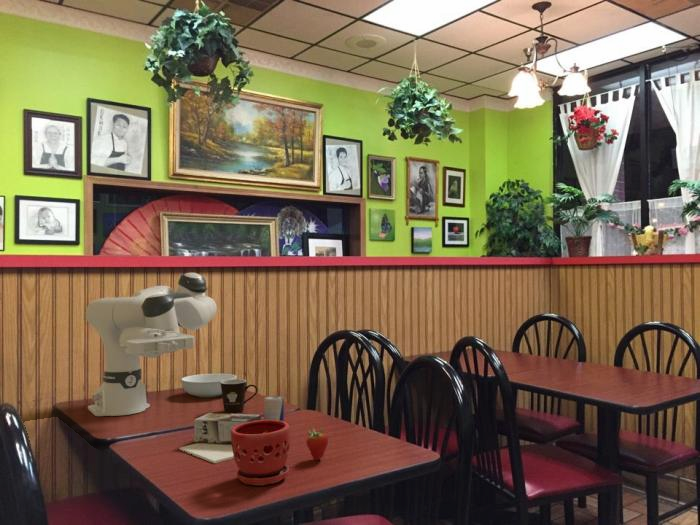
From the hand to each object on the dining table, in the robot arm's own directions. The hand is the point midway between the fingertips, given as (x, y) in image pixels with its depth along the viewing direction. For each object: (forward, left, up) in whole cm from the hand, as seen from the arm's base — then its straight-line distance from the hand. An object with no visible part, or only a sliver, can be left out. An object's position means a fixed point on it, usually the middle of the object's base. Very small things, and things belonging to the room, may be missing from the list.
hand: (172, 346), depth 174 cm
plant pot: (+49, -5, -26) cm, 56 cm away
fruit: (+48, +13, -26) cm, 56 cm away
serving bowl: (-43, +39, -26) cm, 63 cm away
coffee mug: (-11, +30, -26) cm, 41 cm away
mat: (+23, +1, -25) cm, 34 cm away
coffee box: (+11, +2, -22) cm, 25 cm away
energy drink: (+27, +16, -26) cm, 41 cm away
